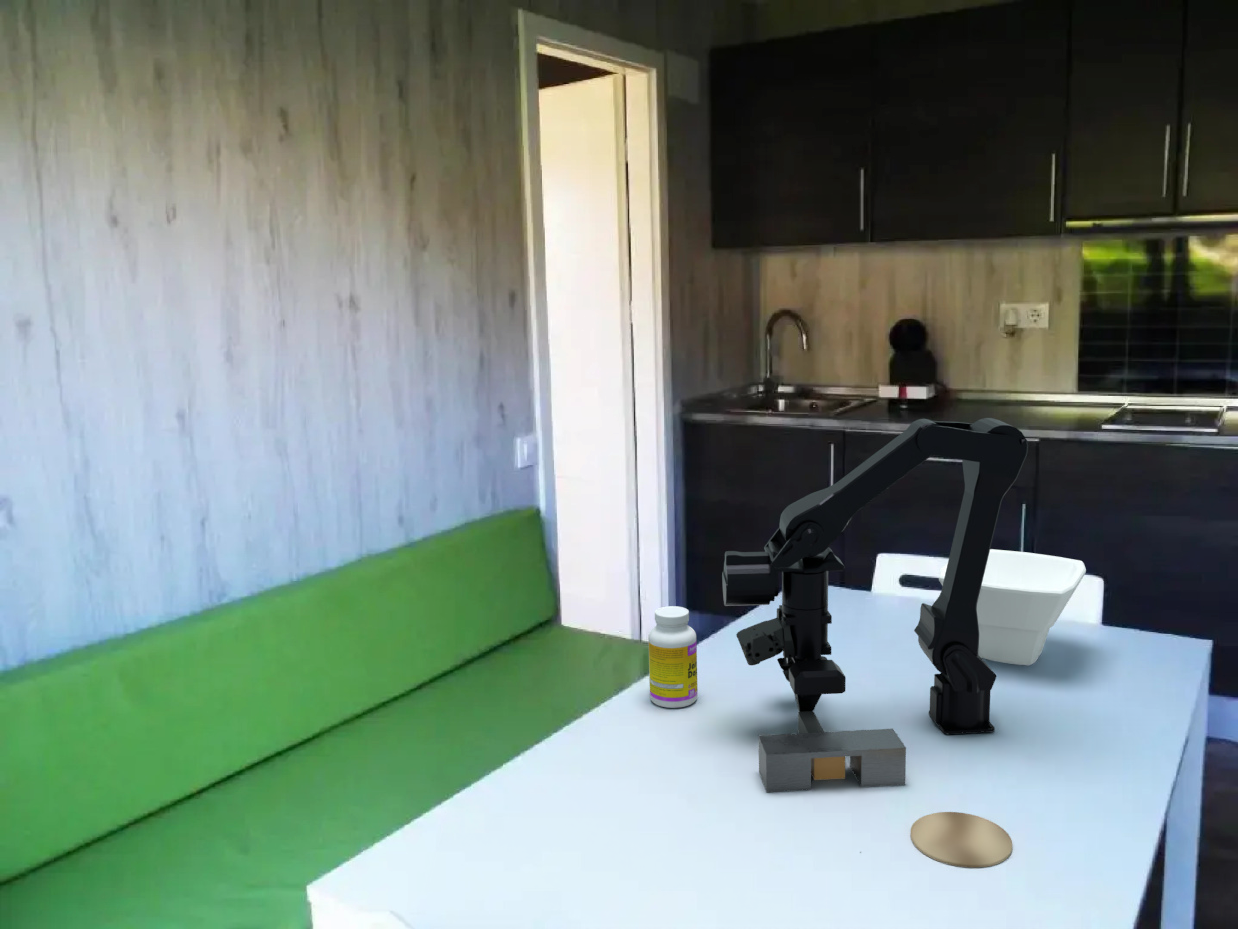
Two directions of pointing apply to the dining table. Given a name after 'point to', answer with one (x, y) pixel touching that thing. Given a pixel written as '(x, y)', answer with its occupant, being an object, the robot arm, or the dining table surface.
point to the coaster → (961, 839)
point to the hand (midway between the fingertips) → (804, 718)
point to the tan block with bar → (820, 766)
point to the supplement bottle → (672, 659)
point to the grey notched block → (870, 756)
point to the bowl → (1021, 602)
